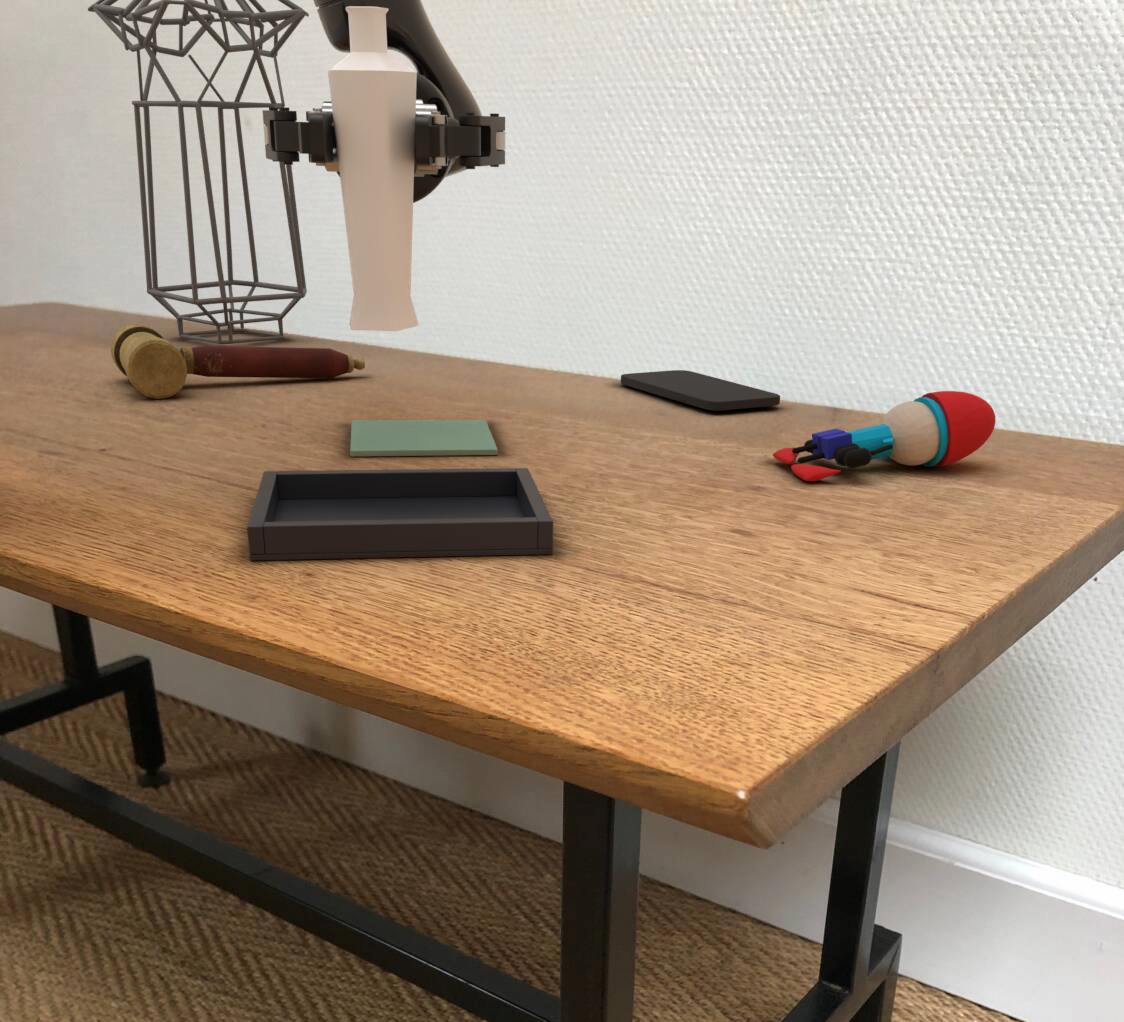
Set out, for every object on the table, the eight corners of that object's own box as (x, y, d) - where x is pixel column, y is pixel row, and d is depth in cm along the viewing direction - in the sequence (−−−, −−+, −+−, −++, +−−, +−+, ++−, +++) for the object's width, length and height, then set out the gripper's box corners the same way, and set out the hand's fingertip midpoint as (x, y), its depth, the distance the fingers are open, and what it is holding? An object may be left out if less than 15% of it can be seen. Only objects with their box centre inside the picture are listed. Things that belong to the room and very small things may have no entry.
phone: (685, 369, 115) (787, 396, 103) (684, 378, 115) (786, 406, 103) (615, 374, 112) (712, 402, 100) (614, 384, 112) (711, 413, 100)
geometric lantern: (337, 341, 131) (315, -56, 116) (204, 357, 121) (161, -77, 105) (250, 325, 141) (219, -44, 125) (121, 338, 130) (69, -62, 115)
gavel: (349, 329, 116) (383, 345, 108) (348, 381, 118) (382, 400, 110) (108, 322, 107) (126, 339, 99) (112, 378, 109) (129, 398, 101)
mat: (350, 456, 85) (350, 450, 85) (352, 425, 94) (351, 420, 94) (497, 455, 87) (497, 449, 86) (485, 424, 95) (485, 419, 95)
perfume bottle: (320, 326, 69) (297, 6, 62) (383, 318, 71) (368, 12, 65) (374, 335, 66) (356, 2, 59) (437, 327, 69) (427, 8, 62)
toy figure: (813, 509, 81) (1022, 460, 83) (806, 432, 79) (1021, 385, 82) (767, 489, 88) (962, 445, 90) (760, 418, 86) (960, 374, 88)
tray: (249, 560, 64) (246, 526, 64) (266, 501, 75) (263, 470, 74) (552, 554, 66) (553, 521, 66) (527, 497, 77) (528, 467, 76)
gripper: (272, 63, 75) (215, 48, 60) (511, 69, 76) (515, 57, 61) (281, 199, 79) (230, 219, 63) (511, 205, 79) (514, 225, 64)
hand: (370, 139), depth 62 cm, fingers closed on perfume bottle, 4 cm apart
